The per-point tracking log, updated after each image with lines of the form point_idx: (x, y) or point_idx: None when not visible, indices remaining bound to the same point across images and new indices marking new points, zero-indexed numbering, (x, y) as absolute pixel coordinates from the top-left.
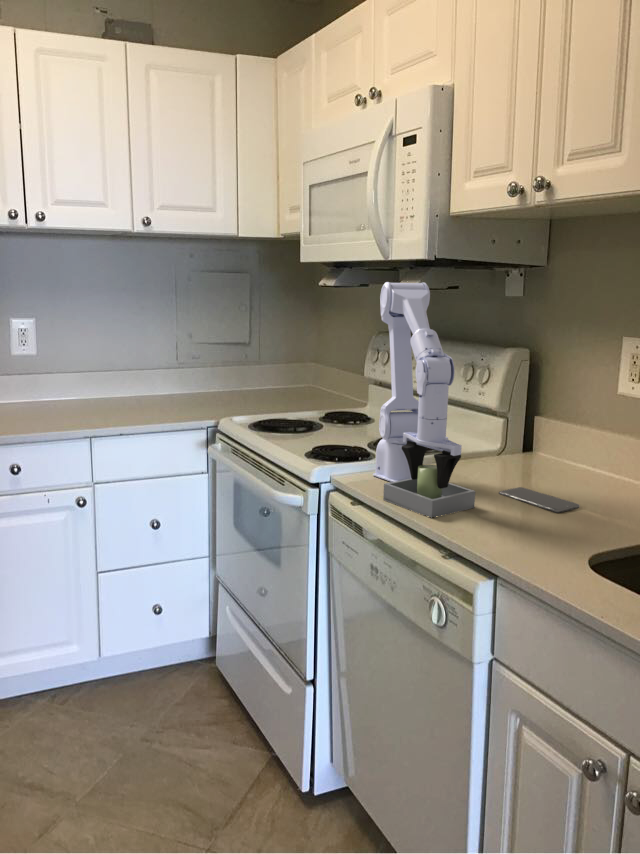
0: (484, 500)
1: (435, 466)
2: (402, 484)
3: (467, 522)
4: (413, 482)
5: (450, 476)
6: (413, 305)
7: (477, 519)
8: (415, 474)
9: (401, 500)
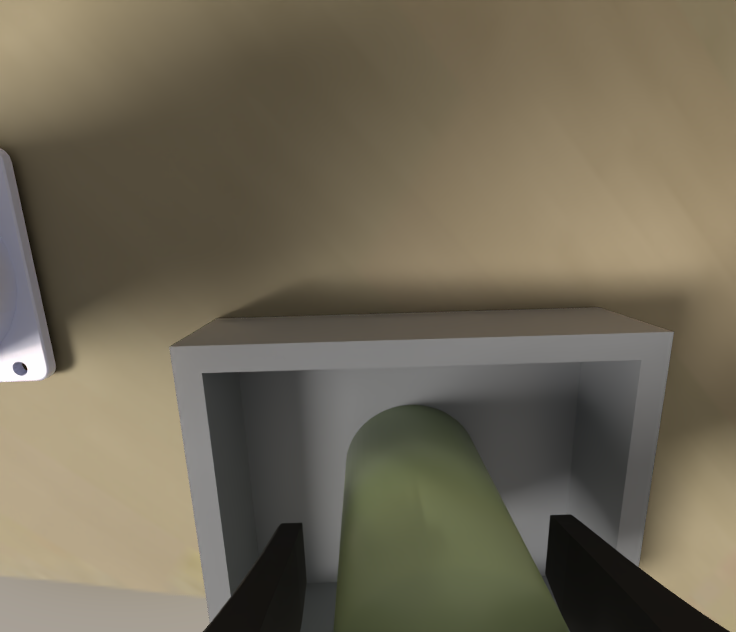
0: (547, 144)
1: (448, 610)
2: (233, 553)
3: (708, 489)
4: (225, 470)
5: (642, 574)
6: None
7: (717, 424)
8: (299, 601)
9: None
